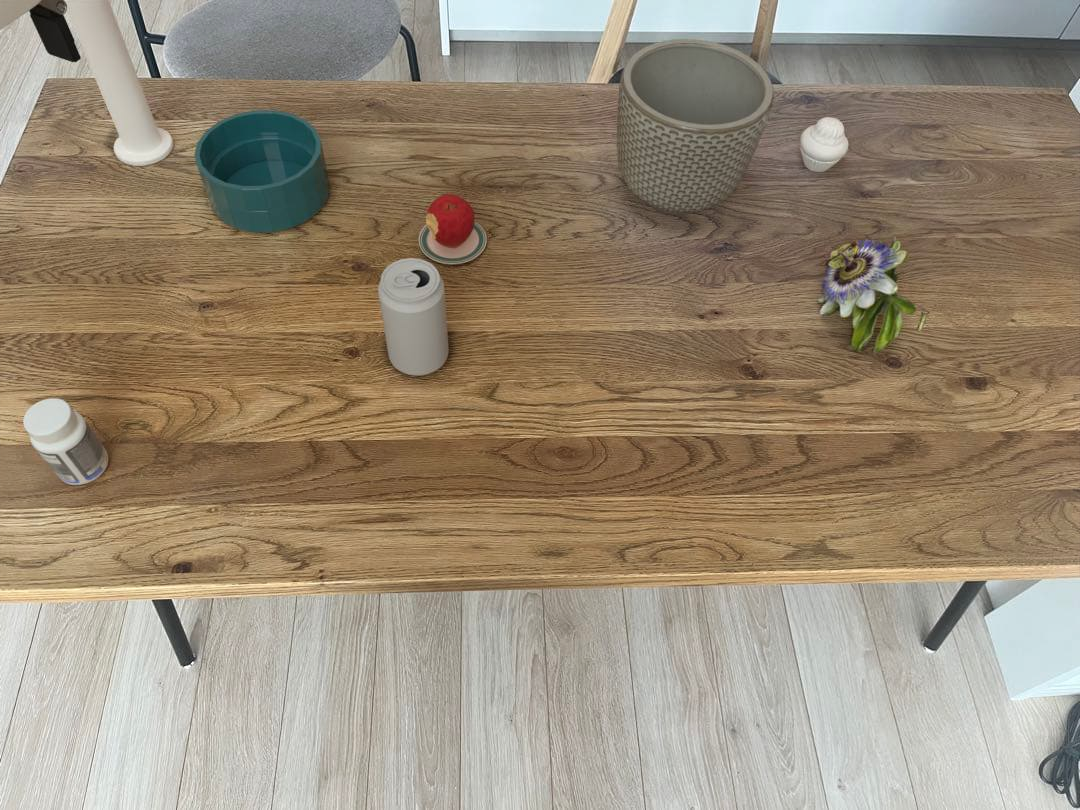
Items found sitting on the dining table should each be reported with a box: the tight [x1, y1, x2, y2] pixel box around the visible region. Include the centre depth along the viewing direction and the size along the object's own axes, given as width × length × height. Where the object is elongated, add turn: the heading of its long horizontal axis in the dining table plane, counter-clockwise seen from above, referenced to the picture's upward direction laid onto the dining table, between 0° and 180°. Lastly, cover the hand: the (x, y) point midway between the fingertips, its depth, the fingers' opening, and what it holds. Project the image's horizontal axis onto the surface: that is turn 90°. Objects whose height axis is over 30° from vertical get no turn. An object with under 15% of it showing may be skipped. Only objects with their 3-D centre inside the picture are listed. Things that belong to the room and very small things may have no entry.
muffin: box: [799, 116, 849, 173], centre depth 112 cm, size 6×6×7 cm
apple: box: [418, 193, 487, 265], centre depth 100 cm, size 8×8×6 cm
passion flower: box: [816, 235, 930, 354], centre depth 96 cm, size 11×11×12 cm
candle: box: [64, 0, 174, 167], centre depth 100 cm, size 7×7×25 cm
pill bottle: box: [22, 397, 109, 486], centre depth 80 cm, size 5×5×8 cm
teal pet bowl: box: [193, 109, 330, 233], centre depth 103 cm, size 14×14×7 cm
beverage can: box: [377, 257, 450, 376], centre depth 88 cm, size 6×6×12 cm
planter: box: [616, 38, 774, 216], centre depth 103 cm, size 17×17×16 cm
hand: (24, 87), depth 73 cm, fingers open, 9 cm apart
